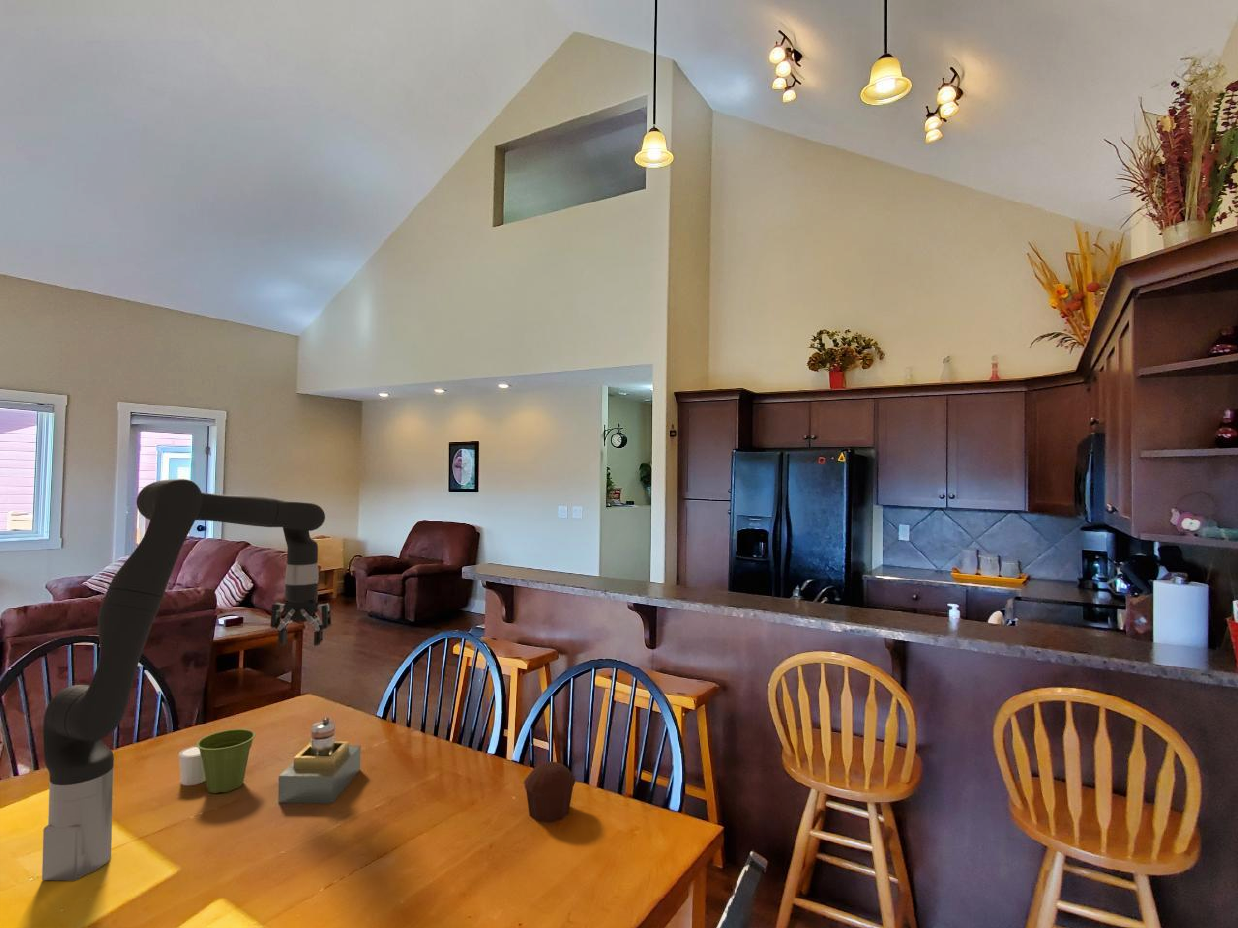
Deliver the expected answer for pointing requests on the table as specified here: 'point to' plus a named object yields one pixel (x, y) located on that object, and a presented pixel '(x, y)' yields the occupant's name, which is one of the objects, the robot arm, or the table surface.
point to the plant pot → (225, 758)
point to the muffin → (549, 791)
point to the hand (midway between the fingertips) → (300, 644)
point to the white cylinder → (191, 766)
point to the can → (322, 738)
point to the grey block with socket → (319, 775)
